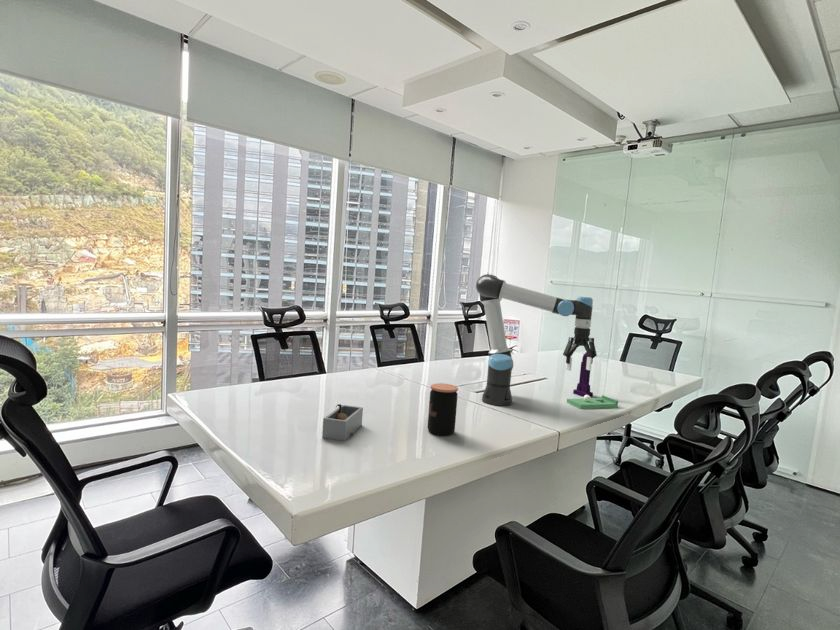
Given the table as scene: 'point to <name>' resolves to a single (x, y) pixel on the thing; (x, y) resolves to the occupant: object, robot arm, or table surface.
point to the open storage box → (342, 423)
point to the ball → (587, 398)
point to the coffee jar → (442, 409)
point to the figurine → (342, 416)
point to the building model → (583, 379)
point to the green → (594, 403)
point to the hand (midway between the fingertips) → (578, 370)
